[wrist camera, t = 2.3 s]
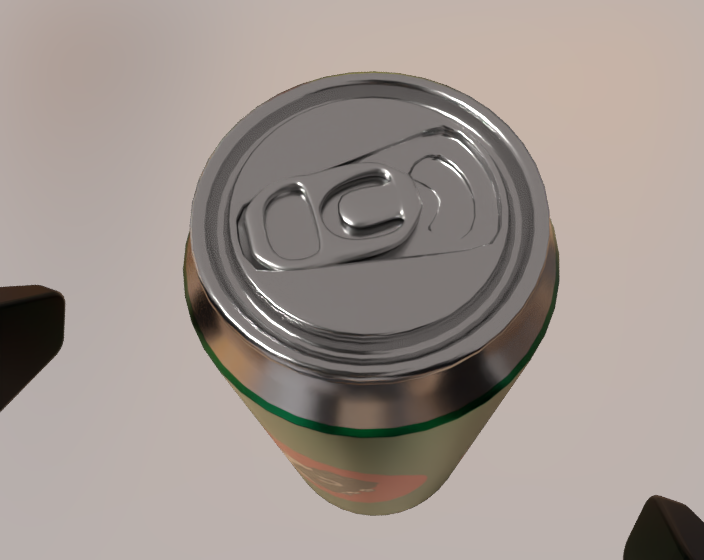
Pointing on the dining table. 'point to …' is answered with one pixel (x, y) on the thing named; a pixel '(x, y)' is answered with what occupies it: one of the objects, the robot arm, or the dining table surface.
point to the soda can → (371, 278)
